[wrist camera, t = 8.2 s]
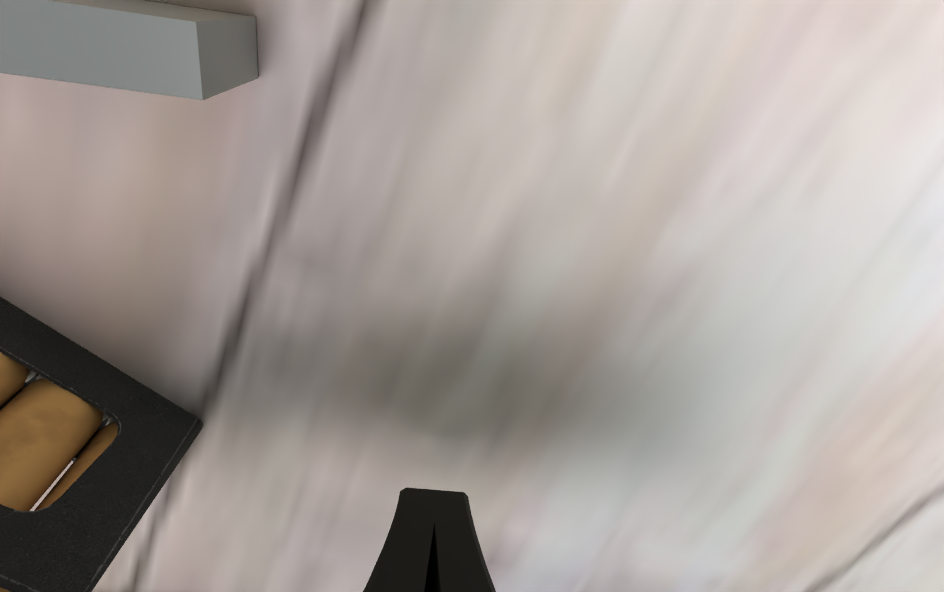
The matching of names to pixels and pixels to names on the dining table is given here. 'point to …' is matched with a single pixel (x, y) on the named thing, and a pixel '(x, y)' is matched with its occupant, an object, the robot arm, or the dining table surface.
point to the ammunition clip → (74, 457)
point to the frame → (129, 45)
